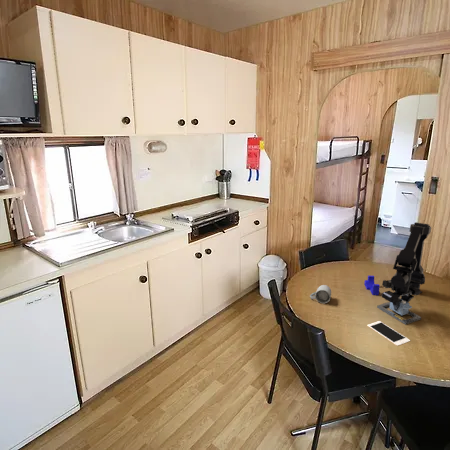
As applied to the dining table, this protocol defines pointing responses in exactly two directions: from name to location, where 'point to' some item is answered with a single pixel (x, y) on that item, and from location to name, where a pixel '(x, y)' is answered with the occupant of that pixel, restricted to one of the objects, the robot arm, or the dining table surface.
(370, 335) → the dining table surface
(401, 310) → the servo block
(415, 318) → the plate
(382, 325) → the cell phone
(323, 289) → the ceramic mug
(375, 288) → the cable clip
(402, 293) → the robot arm
